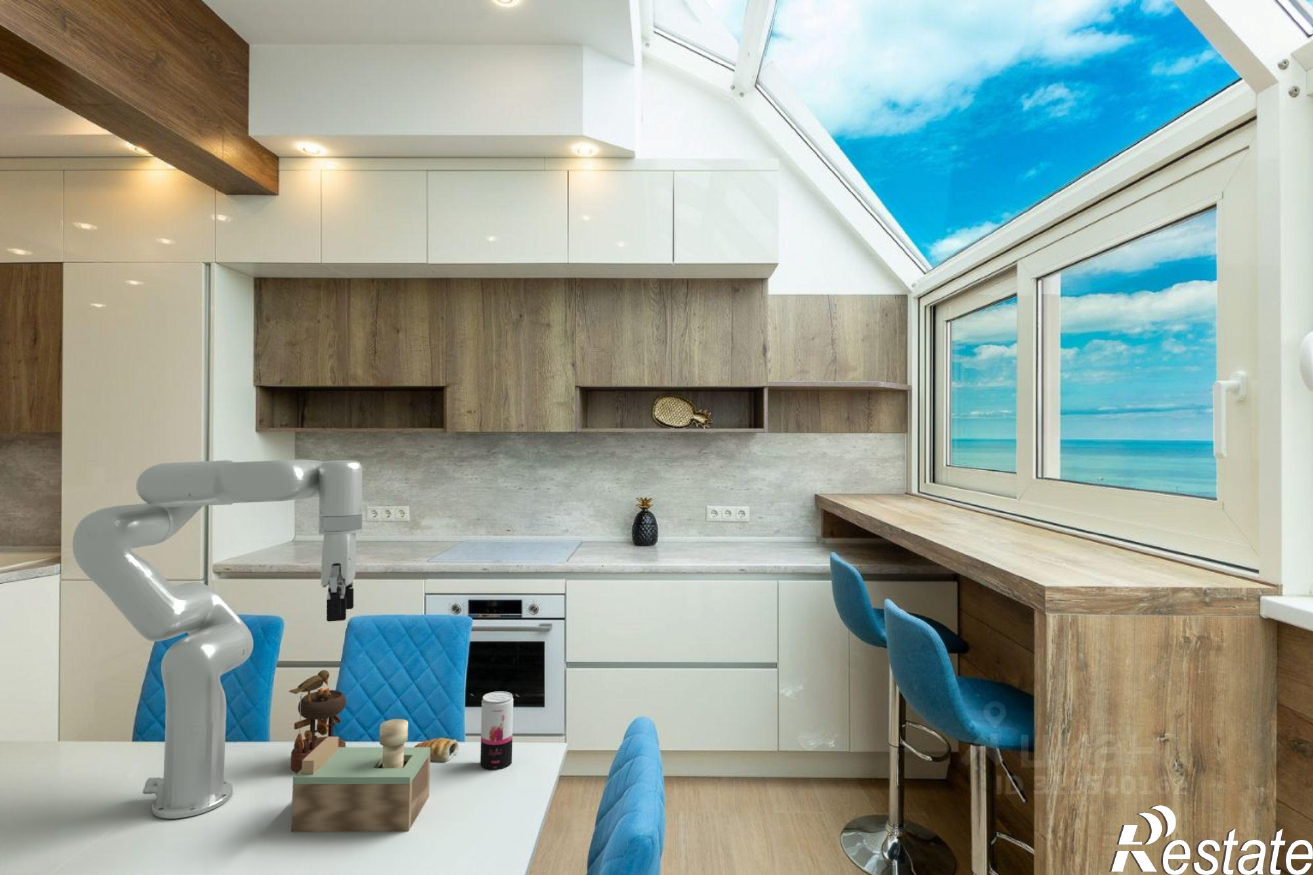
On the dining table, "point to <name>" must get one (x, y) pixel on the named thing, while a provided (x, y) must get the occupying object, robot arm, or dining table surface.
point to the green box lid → (357, 765)
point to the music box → (316, 716)
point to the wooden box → (359, 805)
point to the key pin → (393, 742)
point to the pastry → (441, 749)
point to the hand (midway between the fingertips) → (340, 614)
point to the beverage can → (496, 730)
